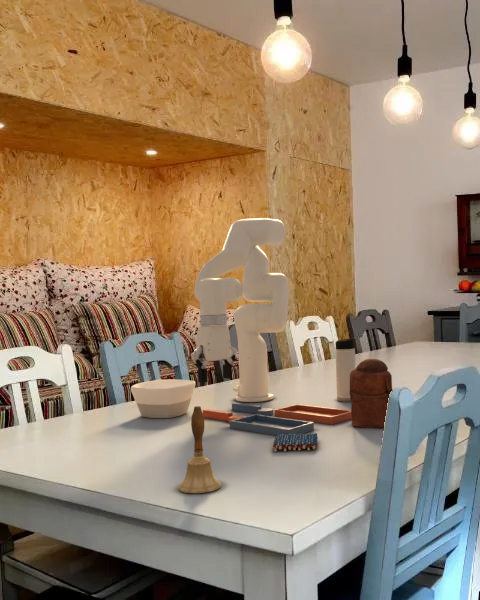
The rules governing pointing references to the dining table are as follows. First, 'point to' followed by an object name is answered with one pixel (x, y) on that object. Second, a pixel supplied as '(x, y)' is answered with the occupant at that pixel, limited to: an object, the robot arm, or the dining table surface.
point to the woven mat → (295, 441)
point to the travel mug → (344, 367)
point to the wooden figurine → (370, 393)
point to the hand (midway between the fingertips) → (215, 380)
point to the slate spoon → (252, 409)
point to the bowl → (163, 397)
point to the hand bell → (198, 462)
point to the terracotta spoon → (220, 415)
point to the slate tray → (271, 425)
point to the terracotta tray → (313, 414)
